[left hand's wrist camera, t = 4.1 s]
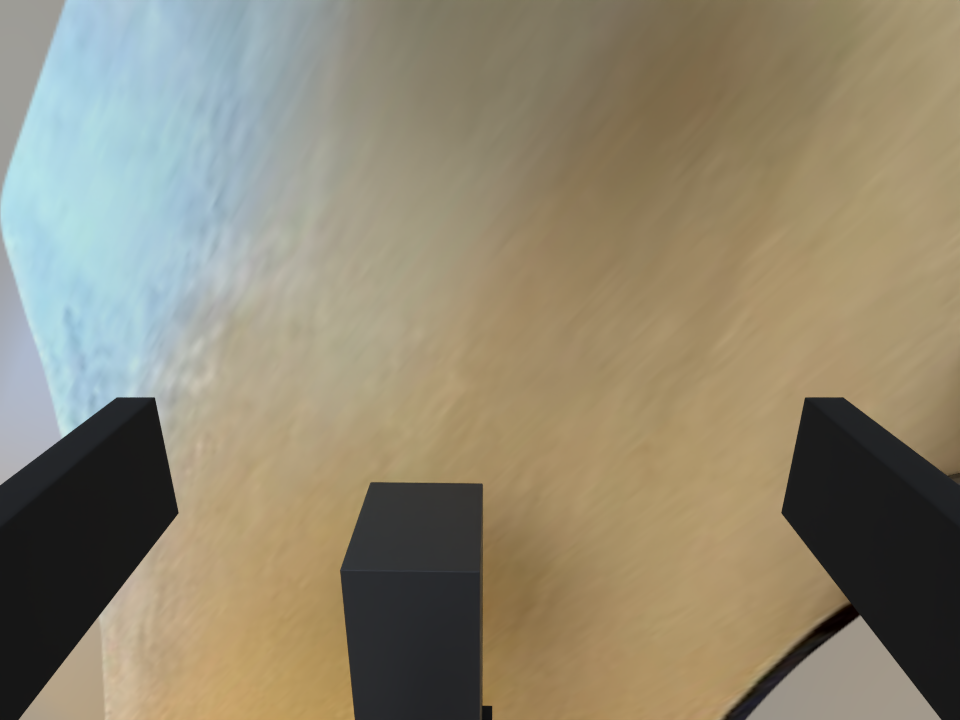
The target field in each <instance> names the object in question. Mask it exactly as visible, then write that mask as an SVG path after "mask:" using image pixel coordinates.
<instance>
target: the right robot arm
mask: <svg viewBox="0 0 960 720" xmlns="http://www.w3.org/2000/svg"><path fill="white" fill-rule="evenodd" d="M948 477H949V478H951V479H952V480H953V481H955V482H956V483H957V484H959V485H960V474H955V475H950V476H948ZM482 720H492V706H482Z"/></svg>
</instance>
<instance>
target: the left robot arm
mask: <svg viewBox="0 0 960 720" xmlns="http://www.w3.org/2000/svg"><path fill="white" fill-rule="evenodd" d="M177 514H178V508H177V503H176V498H175V493H174V488H173V483H172V479H171V474H170V469H169V464H168V459H167V454H166V449H165V445H164V440H163V435H162V430H161V425H160V420H159V415H158V411H157V406H156V401H155V398H116V399H114V400H113V401H112V402H110V403H109V404H108V405H106V406H105V407H104V408H102V409H101V410H100V411H98V412H97V413H96V414H94V415H93V416H92V417H90V418H89V419H88V420H86V421H85V422H84V423H82V424H81V425H80V426H78V427H77V428H76V429H74V430H73V431H72V432H70V433H69V434H68V435H66V436H65V437H64V438H62V439H61V440H60V441H58V442H57V443H56V444H54V445H53V446H52V447H51V448H49V449H48V450H47V451H45V452H44V453H43V454H41V455H40V456H39V457H37V458H36V459H35V460H33V461H32V462H31V463H29V464H28V465H27V466H25V467H24V468H23V469H21V470H20V471H19V472H17V473H16V474H15V475H13V476H12V477H11V478H9V479H8V480H7V481H5V482H4V483H3V484H1V485H0V720H19V718H20V717H21V716H22V714H23V713H24V712H25V711H26V709H27V708H28V707H29V705H30V704H31V703H32V702H33V700H34V699H35V698H36V696H37V695H38V694H39V693H40V691H41V690H42V689H43V687H44V686H45V685H46V684H47V682H48V681H49V680H50V678H51V677H52V676H53V675H54V673H55V672H56V671H57V669H58V668H59V667H60V666H61V664H62V663H63V662H64V660H65V659H66V658H67V656H68V655H69V654H70V653H71V651H72V650H73V649H74V647H75V646H76V645H77V644H78V642H79V641H80V640H81V638H82V637H83V636H84V635H85V633H86V632H87V631H88V629H89V628H90V627H91V625H92V624H93V623H94V621H95V620H96V619H97V618H98V616H99V615H100V614H101V613H102V611H103V610H104V609H105V607H106V606H107V605H108V604H109V602H110V601H111V600H112V598H113V597H114V596H115V595H116V593H117V592H118V591H119V589H120V588H121V587H122V585H123V584H124V583H125V582H126V580H127V579H128V578H129V576H130V575H131V574H132V573H133V571H134V570H135V569H136V567H137V566H138V565H139V564H140V562H141V561H142V560H143V558H144V557H145V556H146V554H147V553H148V552H149V551H150V549H151V548H152V547H153V545H154V544H155V543H156V542H157V540H158V539H159V538H160V536H161V535H162V534H163V533H164V531H165V530H166V529H167V527H168V526H169V525H170V524H171V522H172V521H173V520H174V518H175V517H176V516H177ZM782 514H783V516H784V517H785V518H786V520H787V521H788V522H789V524H790V525H791V526H792V527H793V529H794V530H795V531H796V533H797V534H798V535H799V536H800V538H801V539H802V540H803V542H804V543H805V544H806V545H807V547H808V548H809V549H810V551H811V552H812V553H813V554H814V556H815V557H816V558H817V560H818V561H819V562H820V564H821V565H822V566H823V567H824V569H825V570H826V571H827V573H828V574H829V575H830V576H831V578H832V579H833V580H834V582H835V583H836V584H837V585H838V587H839V588H840V589H841V591H842V592H843V593H844V595H845V596H846V597H847V598H848V600H849V601H850V602H851V604H852V605H853V606H854V607H855V609H856V610H857V611H858V613H859V614H860V615H861V616H862V618H863V619H864V620H865V622H866V623H867V624H868V625H869V627H870V628H871V629H872V631H873V632H874V633H875V635H876V636H877V637H878V638H879V640H880V641H881V642H882V644H883V645H884V646H885V647H886V649H887V650H888V651H889V653H890V654H891V655H892V656H893V658H894V659H895V660H896V662H897V663H898V664H899V666H900V667H901V668H902V669H903V671H904V672H905V673H906V675H907V676H908V677H909V678H910V680H911V681H912V682H913V684H914V685H915V686H916V687H917V689H918V690H919V691H920V693H921V694H922V695H923V696H924V698H925V699H926V700H927V702H928V703H929V704H930V706H931V707H932V708H933V709H934V711H935V712H936V713H937V715H938V716H939V717H940V718H941V720H960V485H959V484H957V483H956V482H955V481H953V480H952V479H951V478H949V477H948V476H947V475H945V474H944V473H943V472H941V471H940V470H939V469H937V468H936V467H935V466H933V465H932V464H931V463H929V462H928V461H927V460H925V459H924V458H923V457H921V456H920V455H919V454H917V453H916V452H915V451H913V450H912V449H911V448H909V447H908V446H907V445H906V444H904V443H903V442H902V441H900V440H899V439H898V438H896V437H895V436H894V435H892V434H891V433H890V432H888V431H887V430H886V429H884V428H883V427H882V426H880V425H879V424H878V423H876V422H875V421H874V420H872V419H871V418H870V417H868V416H867V415H866V414H864V413H863V412H862V411H860V410H859V409H858V408H856V407H855V406H854V405H852V404H851V403H850V402H848V401H847V400H846V399H844V398H805V401H804V406H803V411H802V415H801V420H800V425H799V430H798V435H797V440H796V445H795V449H794V454H793V459H792V464H791V469H790V474H789V479H788V483H787V488H786V493H785V498H784V503H783V508H782Z"/></svg>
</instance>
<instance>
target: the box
mask: <svg viewBox="0 0 960 720" xmlns="http://www.w3.org/2000/svg"><path fill="white" fill-rule="evenodd" d="M340 573H341V583H342V593H343V603H344V613H345V624H346V634H347V644H348V654H349V664H350V674H351V685H352V695H353V705H354V715H355V720H482V669H483V484H476V483H386V482H371V483H370V485H369V488H368V491H367V494H366V497H365V500H364V503H363V506H362V509H361V512H360V514H359V517H358V520H357V523H356V526H355V529H354V532H353V535H352V538H351V541H350V543H349V546H348V549H347V552H346V555H345V558H344V561H343V564H342V567H341V570H340Z"/></svg>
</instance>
